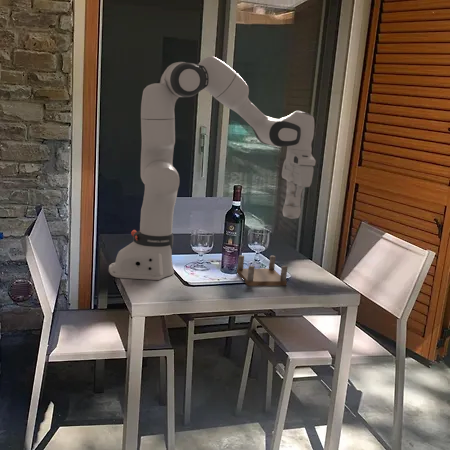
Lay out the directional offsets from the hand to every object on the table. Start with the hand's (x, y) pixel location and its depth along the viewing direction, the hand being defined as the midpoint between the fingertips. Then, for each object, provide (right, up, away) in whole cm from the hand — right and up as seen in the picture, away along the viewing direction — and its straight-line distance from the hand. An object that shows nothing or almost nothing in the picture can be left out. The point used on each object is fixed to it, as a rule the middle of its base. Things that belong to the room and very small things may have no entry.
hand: (293, 194), depth 210 cm
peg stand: (-13, -30, -7) cm, 33 cm away
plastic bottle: (-1, -9, +2) cm, 9 cm away
